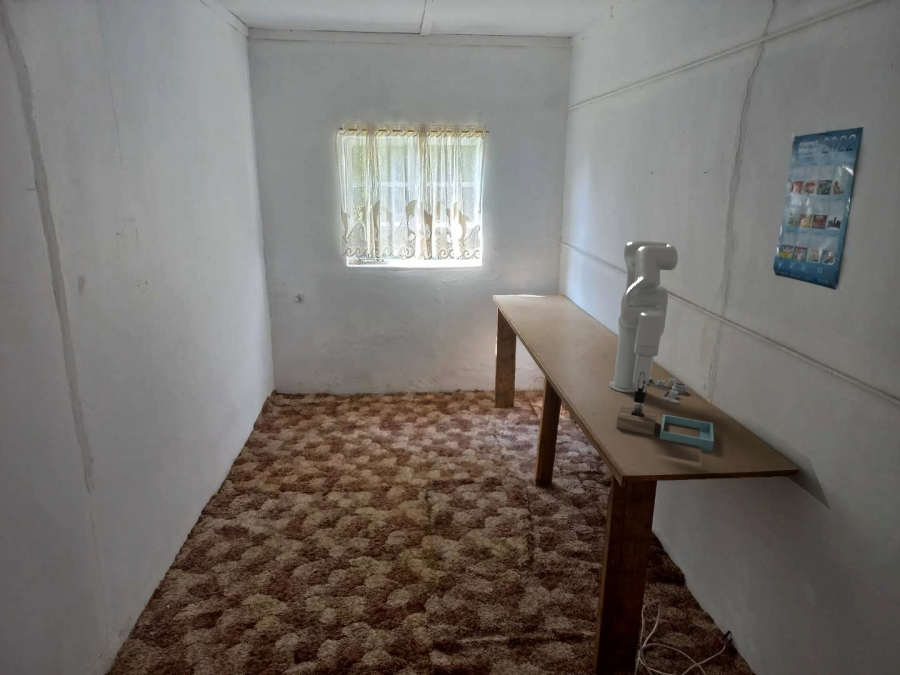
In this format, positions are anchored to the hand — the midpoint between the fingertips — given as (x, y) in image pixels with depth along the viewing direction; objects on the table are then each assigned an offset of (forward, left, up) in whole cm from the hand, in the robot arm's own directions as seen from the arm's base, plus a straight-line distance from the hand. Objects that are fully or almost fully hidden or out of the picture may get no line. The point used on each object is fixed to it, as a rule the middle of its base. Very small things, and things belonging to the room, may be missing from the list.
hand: (639, 400), depth 198 cm
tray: (0, +16, -10) cm, 19 cm away
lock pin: (0, 0, -5) cm, 5 cm away
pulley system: (-44, +9, -11) cm, 46 cm away
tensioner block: (0, 0, -10) cm, 10 cm away
